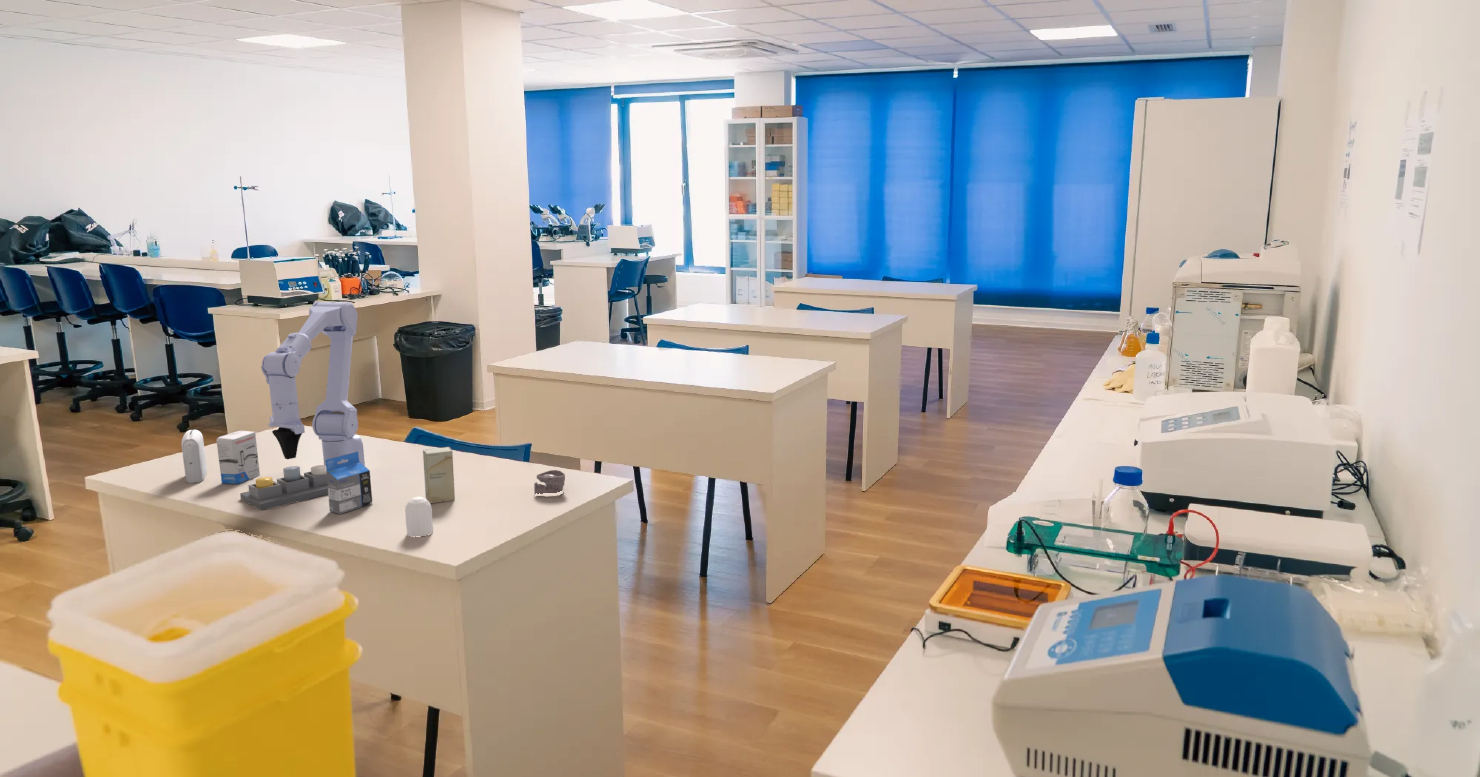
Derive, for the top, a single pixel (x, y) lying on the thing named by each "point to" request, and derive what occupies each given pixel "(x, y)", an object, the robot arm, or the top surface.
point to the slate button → (292, 473)
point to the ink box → (238, 457)
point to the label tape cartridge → (348, 484)
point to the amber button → (264, 482)
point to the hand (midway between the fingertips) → (290, 458)
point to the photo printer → (194, 456)
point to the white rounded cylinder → (418, 517)
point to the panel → (286, 491)
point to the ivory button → (318, 470)
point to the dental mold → (550, 482)
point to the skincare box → (438, 474)
